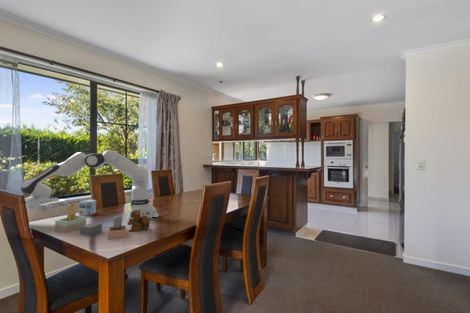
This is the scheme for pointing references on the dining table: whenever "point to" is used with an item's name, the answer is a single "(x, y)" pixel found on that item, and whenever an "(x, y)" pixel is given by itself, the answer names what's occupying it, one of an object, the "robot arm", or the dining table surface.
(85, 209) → the light bulb box
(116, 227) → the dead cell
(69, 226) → the trough
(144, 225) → the stuffed squirrel
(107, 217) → the dining table surface
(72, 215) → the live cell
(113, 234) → the pink square tray
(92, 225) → the cradle
